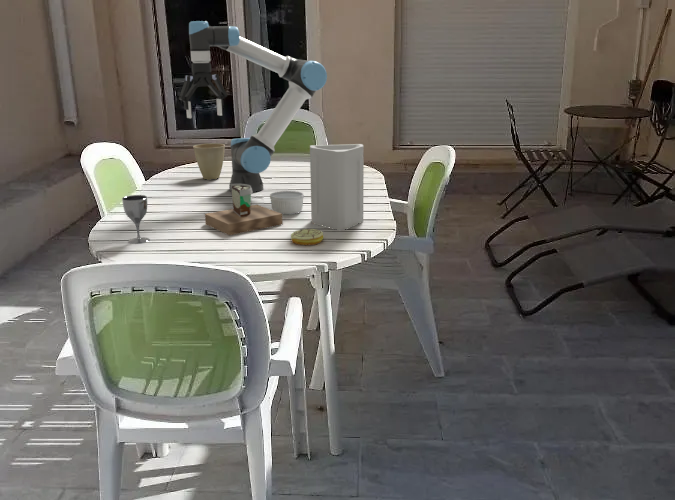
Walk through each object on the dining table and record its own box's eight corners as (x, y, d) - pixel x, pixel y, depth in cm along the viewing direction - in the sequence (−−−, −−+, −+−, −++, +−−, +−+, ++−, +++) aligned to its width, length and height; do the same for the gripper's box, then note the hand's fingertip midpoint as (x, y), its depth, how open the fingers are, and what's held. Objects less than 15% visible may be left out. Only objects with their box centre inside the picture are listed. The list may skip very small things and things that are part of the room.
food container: (258, 215, 244) (256, 188, 240) (241, 217, 241) (240, 190, 238) (248, 208, 254) (246, 182, 251) (232, 210, 252) (230, 183, 249)
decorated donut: (298, 236, 233) (298, 226, 232) (327, 239, 230) (327, 228, 229) (286, 245, 224) (286, 234, 223) (316, 248, 221) (316, 236, 219)
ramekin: (289, 205, 274) (288, 188, 272) (311, 211, 265) (310, 194, 263) (263, 211, 266) (263, 194, 263) (285, 217, 257) (284, 199, 254)
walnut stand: (257, 214, 261) (256, 204, 260) (282, 224, 247) (282, 213, 246) (205, 224, 248) (204, 213, 247) (229, 235, 235) (228, 224, 233)
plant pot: (233, 177, 329) (231, 144, 324) (212, 182, 317) (210, 149, 312) (210, 174, 336) (208, 142, 331) (189, 179, 324) (186, 146, 320)
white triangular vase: (314, 231, 239) (312, 152, 230) (311, 220, 253) (309, 145, 244) (367, 229, 241) (368, 150, 232) (361, 218, 255) (362, 144, 246)
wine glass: (138, 245, 224) (133, 201, 220) (121, 241, 228) (116, 198, 224) (156, 239, 231) (151, 196, 226) (139, 236, 235) (135, 193, 230)
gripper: (224, 60, 277) (227, 113, 283) (167, 63, 263) (172, 118, 269) (233, 61, 271) (236, 114, 278) (175, 63, 257) (180, 120, 263)
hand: (204, 116), depth 273 cm, fingers open, 13 cm apart
